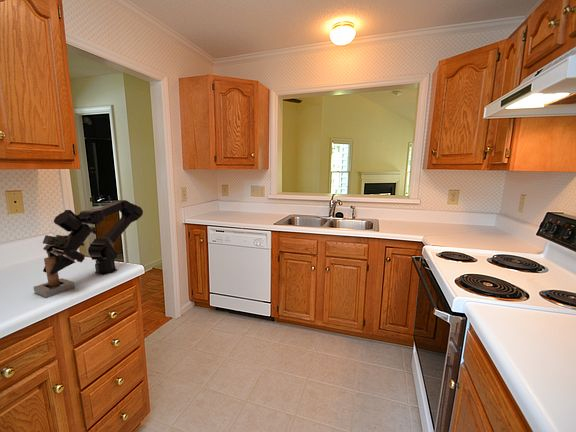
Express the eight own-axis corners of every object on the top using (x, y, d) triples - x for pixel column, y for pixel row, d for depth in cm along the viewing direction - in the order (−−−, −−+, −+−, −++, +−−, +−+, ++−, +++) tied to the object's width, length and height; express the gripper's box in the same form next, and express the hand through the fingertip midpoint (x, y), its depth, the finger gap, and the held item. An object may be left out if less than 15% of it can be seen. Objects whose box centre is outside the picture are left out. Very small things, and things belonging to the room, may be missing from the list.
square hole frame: (62, 284, 110) (61, 278, 110) (74, 288, 106) (74, 282, 106) (34, 293, 102) (33, 286, 102) (46, 297, 98) (45, 291, 98)
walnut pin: (58, 288, 106) (52, 256, 104) (62, 289, 105) (57, 257, 103) (48, 291, 104) (42, 258, 101) (52, 293, 102) (46, 259, 100)
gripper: (45, 224, 108) (13, 259, 100) (70, 228, 99) (37, 267, 92) (71, 239, 116) (43, 272, 108) (96, 244, 108) (68, 280, 100)
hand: (47, 273), depth 102 cm, fingers open, 5 cm apart
